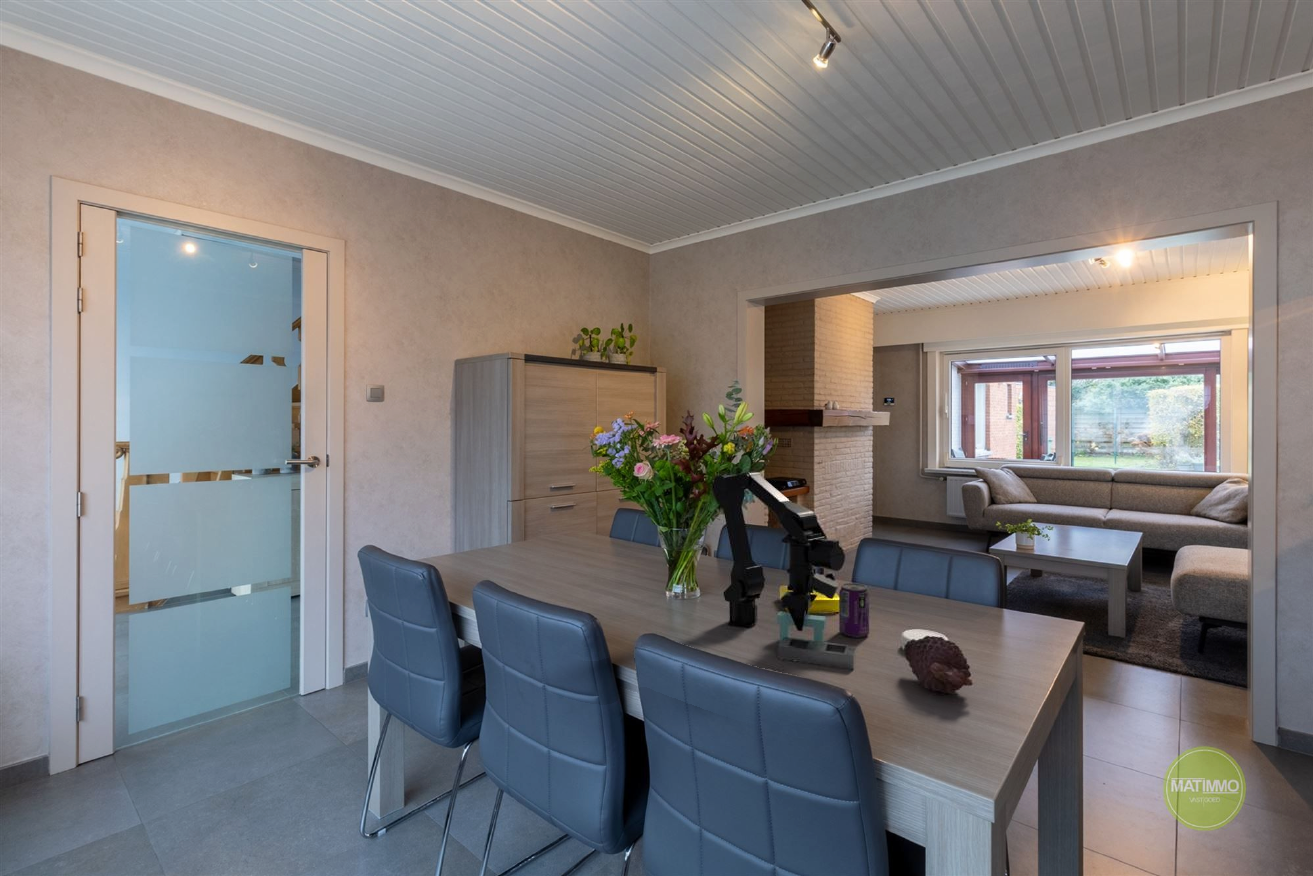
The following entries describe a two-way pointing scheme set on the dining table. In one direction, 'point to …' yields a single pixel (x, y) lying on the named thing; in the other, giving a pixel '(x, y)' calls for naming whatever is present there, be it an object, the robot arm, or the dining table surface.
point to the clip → (809, 621)
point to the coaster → (918, 635)
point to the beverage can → (854, 610)
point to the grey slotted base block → (817, 652)
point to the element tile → (818, 602)
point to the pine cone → (938, 664)
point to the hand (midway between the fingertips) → (801, 628)
